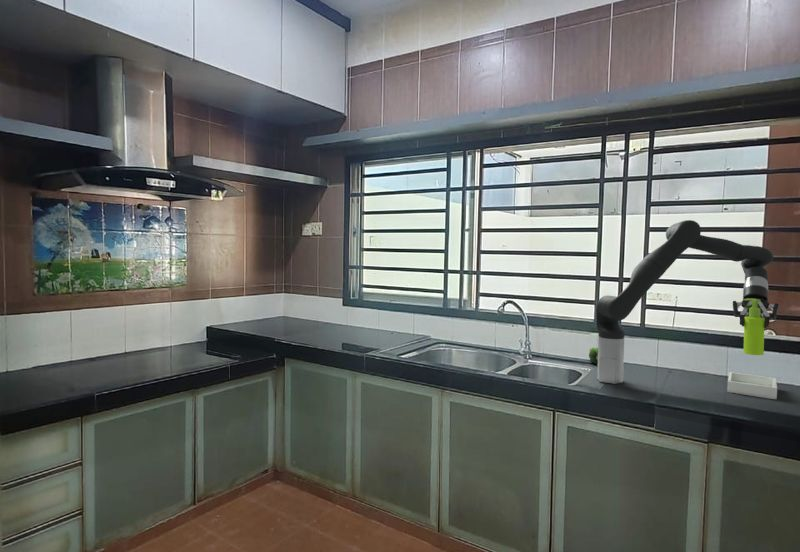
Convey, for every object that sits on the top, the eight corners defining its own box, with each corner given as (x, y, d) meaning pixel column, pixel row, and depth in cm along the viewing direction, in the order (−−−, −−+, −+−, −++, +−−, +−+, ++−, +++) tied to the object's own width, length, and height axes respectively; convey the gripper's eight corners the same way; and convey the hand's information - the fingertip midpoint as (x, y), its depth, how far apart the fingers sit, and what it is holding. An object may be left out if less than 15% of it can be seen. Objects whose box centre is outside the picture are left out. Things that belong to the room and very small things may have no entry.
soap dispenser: (752, 350, 176) (754, 297, 175) (767, 355, 169) (769, 299, 168) (737, 351, 175) (738, 297, 174) (751, 355, 169) (753, 299, 167)
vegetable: (594, 346, 209) (592, 339, 227) (586, 360, 210) (584, 351, 229) (610, 355, 207) (606, 347, 225) (602, 369, 208) (599, 359, 227)
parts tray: (776, 399, 162) (777, 388, 162) (727, 392, 170) (727, 381, 170) (774, 388, 175) (775, 378, 175) (728, 382, 183) (729, 372, 183)
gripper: (732, 283, 181) (730, 317, 172) (780, 285, 172) (780, 321, 163) (732, 296, 185) (729, 330, 177) (779, 298, 177) (779, 334, 168)
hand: (754, 326), depth 170 cm, fingers closed on soap dispenser, 6 cm apart
